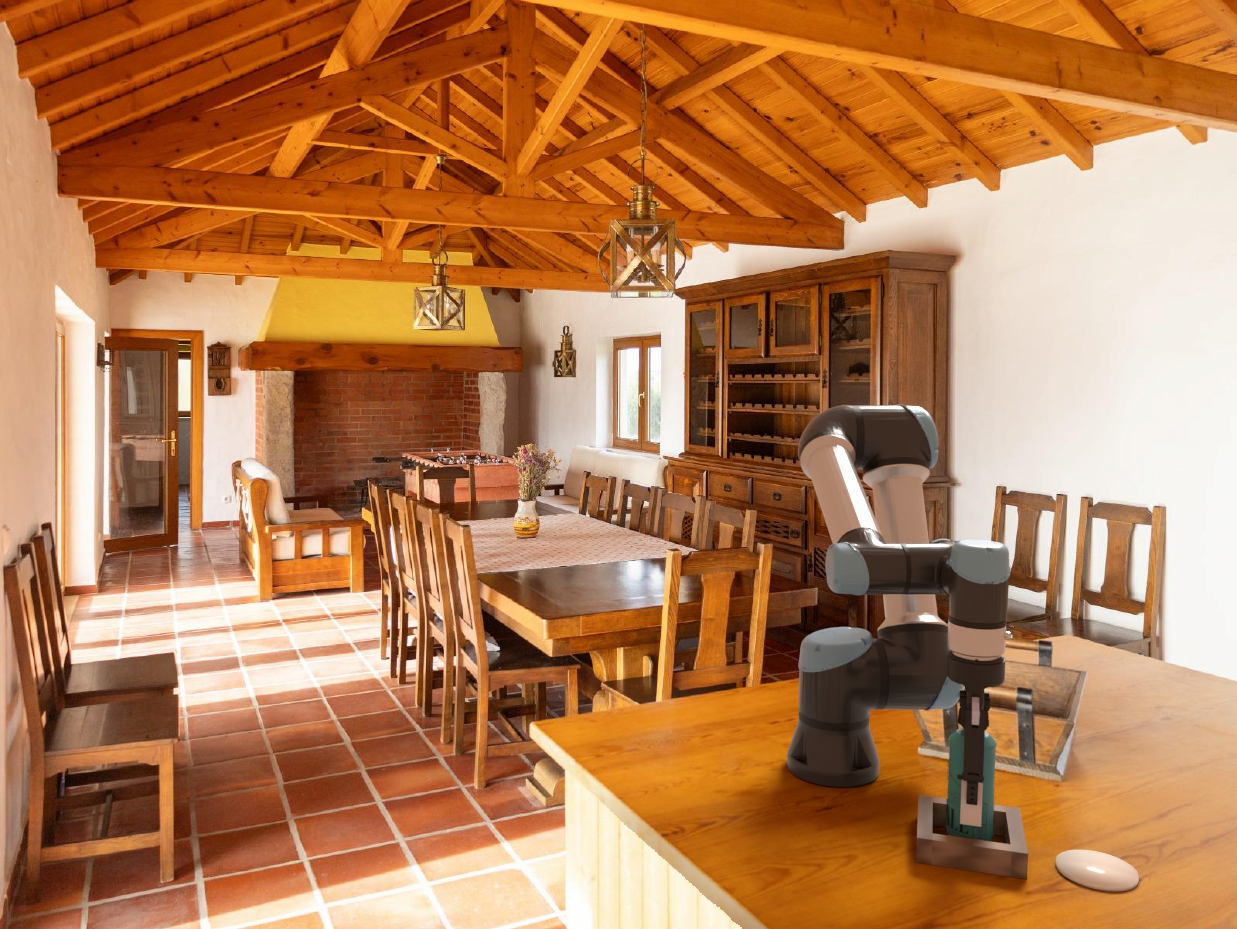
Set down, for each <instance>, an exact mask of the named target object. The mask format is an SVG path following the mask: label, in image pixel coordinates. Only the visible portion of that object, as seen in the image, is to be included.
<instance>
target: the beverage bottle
mask: <svg viewBox="0 0 1237 929" xmlns="http://www.w3.org/2000/svg"><path fill="white" fill-rule="evenodd" d="M965 711H966V706H965ZM989 716H990V715H989V714H988V727H989V726H990V720H989V718H990V717H989ZM965 721H966V715H965ZM971 722H972V721H971ZM957 723H958V725H960V726H961V707H960V706H959V709H958V715H957ZM964 732H965V729H964V728H963V727H959V728H958V729H956V730H954V731H953V732H952V733H951V734H950V735H949V737H948V741H949V751H948V763H947V764H946V766H947V771H946V772H947V775H948V776H946V779H947V798H946V799H947V808H946V818H947V823H945V824H947V826H946V825H945V826H946V827H944V828H945V830H946V831H947V832H946V833H947V835H948V836H955V837H962V838H969V839H976V840H983V841H990V842H992V840H993V838H994V834H993V832H994V831H993V825H994V824H993V816H994V809H995V806H994V805H995V803H996V800H995V799H996V797H995V776H996V775H995V773H996V751H997V749H996V748H997V741H996V739H995V738H994V737H993V736H992V735H991V734H990V733H989V732H988V731H986V730H985V738H984V765H983V776H984V780H983V793H982V817H981V827H979V826H972V825H965V824H960V810H961V784H962V780H961V779H957V774H960V775H962V773H963V765H964ZM994 817H995V816H994ZM994 823H995V821H994Z"/></svg>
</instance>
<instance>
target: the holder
mask: <svg viewBox="0 0 1237 929" xmlns="http://www.w3.org/2000/svg"><path fill="white" fill-rule="evenodd" d="M947 799H948V798H947V797H946V798H944V797H938V796H931V795H930V796H929V795H922V794H918V800H917V801H918V804H917V806H918V808H917V824H916V825H917V826H916V854H915V862H916V863H918V864H924V865H925V864H926V865H931V866H937V867H945V868H952V869H959V870H965V871H970V872H971V871H972V872H979V873H985V874H989V875H990V874H991V875H998V876H1004V877H1011V878H1015V879H1016V878H1019V879H1022V880H1023V879H1024V880H1027V879H1028V865H1029V851H1028V850H1029V849H1028V846H1027V840H1026V834H1025V829H1024V824H1023V819H1022V814H1021V809H1020V807H1013V806H1005V805H998V804H994V806H995V809H994V816H995V817H994V816H993V824H994V825H993V831H994V832H993V835H1000V836H1004V838H1005V839H1004V840H1005V843H1003V842H998V841H991V842H990V841H983V840H976V839H969V838H962V837H955V836H949V835H948V834H947V835H946V834H939V833H933V826H935V827H936V826H937V827H942V828H945V827H946V826H947V824H945V823H947V818H946V808H947ZM994 821H995V823H994ZM945 825H946V826H945ZM946 828H947V827H946Z"/></svg>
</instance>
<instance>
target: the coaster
mask: <svg viewBox="0 0 1237 929" xmlns="http://www.w3.org/2000/svg"><path fill="white" fill-rule="evenodd" d="M1055 868H1056V870H1057V871H1058V872H1059V873H1060V875H1062V876H1063V877H1065V878H1067V879H1068V880H1070V881H1071V882H1073V883H1075V884H1078V885H1080V886H1082V887H1086V888H1090V889H1093V890H1098V891H1103V892H1113V893H1114V892H1117V893H1118V892H1126V891H1130V890H1133V889H1135V888H1136V887H1137V886H1138V884H1139V880H1140V876H1139V873H1138V871H1137V869H1136V868H1135V867H1133V865H1131V864H1129V863H1128V862H1126V860H1123V859H1121V858H1119V857H1117V856H1115V855H1114V856H1113V855H1111V854H1108V853H1107V852H1106V853H1105V852H1100V851H1097V850H1092V849H1091V850H1090V849H1069V850H1065V851H1062V852H1060V853H1059V854H1058V855H1057V856H1056V857H1055Z"/></svg>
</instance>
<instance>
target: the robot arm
mask: <svg viewBox="0 0 1237 929" xmlns="http://www.w3.org/2000/svg"><path fill="white" fill-rule="evenodd" d="M939 445H940V443H939V436H938V430H937V427H936V424H935V421H934V419H933V417H932V416H931V414H930V413H929V412H928V411H927V410H926V409H925V408H923V407H921V406H918V405H905V404H901V403H899V404H896V405H894V404H893V405H892V404H891V405H890V404H889V405H888V404H887V405H886V404H883V405H880V404H879V405H875V404H874V405H867V404H866V405H865V404H864V405H863V404H862V405H859V404H857V405H850V404H841V405H836V406H833V407H830V408H828V409H826V410H825V409H824V411H821V412H820V413H819V414H817V415H816V416H815V417H813V419H811V421H810V422H808V424H807V425H806V426H805V428H804V430H803V431H802V433H801V435H800V439H799V441H798V447H797V455H798V462H799V465H800V467H801V469H802V472H803V473H804V475H805V476H806V477H807V478H809V479H811V482H812V485H813V488H814V491H815V494H816V497H817V500H818V504H819V506H820V508H821V512H822V516H823V518H824V522H825V524H826V527H827V530H828V533H829V536H830V539H831V542H832V544H831V545H829V546H828V548H827V551H826V553H825V565H824V566H825V574H826V583H827V586H828V588H829V589H830V590H831V591H832V592H833V593H835V594H843V595H853V596H862V595H863V596H867V595H868V596H871V595H872V596H873V595H882V597H883V606H884V609H883V610H884V617H885V619H884V621H883V622H882V623H881V624H880V626H879V627H878V628H877V638H873V636H872V633H871V632H870V631H869V630H868V629H864V628H861V627H850V626H839V627H837V626H836V627H828V628H824V629H819V630H816V631H814V632H811V633H810V634H808V635H806V636H805V638H803V639H802V641H801V644H800V649H799V650H800V652H799V658H798V659H799V660H798V663H797V664H798V669H799V670H798V672H799V674H798V676H799V677H798V715H797V716H798V718H797V719H798V721H797V724H796V727H795V730H794V733H793V734H792V735H793V736H792V737H791V741H790V742H789V745H788V749H787V754H786V756H787V757H786V768H787V769H788V771H789V772H790V773H791V774H792V775H794V776H795V777H797V778H799V779H801V780H802V781H803V780H804V781H806V782H808V783H812V784H815V785H820V786H825V787H834V788H835V787H836V788H851V787H858V786H864V785H868V784H870V783H871V782H874V781H875V780H876V779H878V777H879V775H880V757H879V755H878V751H877V747H876V745H875V741H874V738H873V735H872V731H871V726H870V716H871V715H870V713H871V711H873V710H874V711H877V710H878V711H879V710H882V711H885V710H888V711H890V710H891V711H892V710H893V711H894V710H895V711H896V710H897V711H898V710H906V711H907V710H909V711H910V710H913V711H914V710H917V711H918V710H924V711H925V712H926V711H927V712H929V711H933V710H946V709H951V708H952V707H954V706H955V705H956V704H957V703H958V702H959V708H960V707H961V725H960V726H961V728H964V729H965V732H964V765H963V773H962V775H960V774H957V779H961V780H962V784H961V810H960V824H965V825H972V826H979V827H981V817H982V793H983V780H984V776H983V765H984V738H985V731H986V730H988V727H989V726H988V715H989V711H990V709H991V697H990V692H989V691H985V689H989V688H997V687H1000V686H1002V685H1003V684H1004V682H1005V679H1006V678H1005V677H1006V676H1005V674H1006V658H1005V657H1004V656H1003V655H1005V653H1006V645H1007V644H1006V643H1007V642H1006V639H1007V640H1008V639H1012V638H1011V637H1012V633H1011V632H1010V631H1007V624H1008V622H1007V621H1008V604H1009V587H1010V586H1009V582H1010V577H1011V566H1010V550H1009V548H1008V547H1007V546H1006V545H1005V544H1004V543H1002V542H999V541H993V540H988V539H980V538H979V539H977V538H974V539H973V538H972V539H971V538H970V539H960V540H953V539H949V538H939V539H938V538H937V539H934V540H931V541H930V540H929V533H928V532H929V531H928V522H927V521H928V520H927V515H926V505H925V498H924V497H925V496H924V488H923V483H924V482H925V481H926V480H927V479H928V478H929V477H930V475H931V474H930V473H931V472H930V469H933V468H934V467H936V466H935V465H936V464H937V462H938V459H939V449H938V448H939ZM857 470H861V472H862V481H863V482H864V483H865V484H866V485H867V486H869V487H870V488H871V489H872V495H873V496H872V498H873V505H874V511H873V509H872V507H871V504H870V501H869V498H868V496H867V494H866V491H865V489H864V486H863V484H862V481H861V479H860V477H859V475H858V472H857ZM936 595H945V596H947V597H949V602H948V603H949V605H948V606H949V608H948V609H949V610H948V612H949V613H948V621H947V622H948V623H946V622H945V621H944V620H942V619H941V618H940V617H939V615H938V606H937V600H936ZM965 706H966V711H965ZM965 715H966V721H965ZM971 721H972V722H971Z"/></svg>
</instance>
